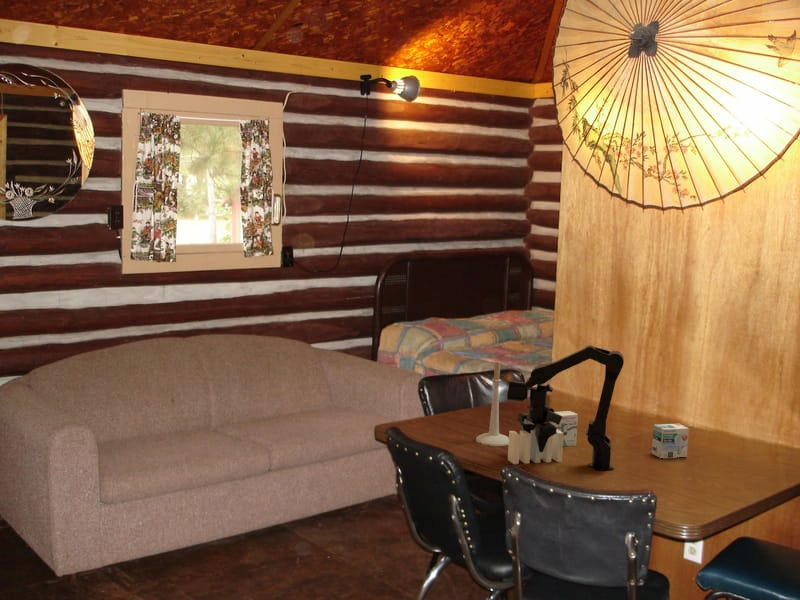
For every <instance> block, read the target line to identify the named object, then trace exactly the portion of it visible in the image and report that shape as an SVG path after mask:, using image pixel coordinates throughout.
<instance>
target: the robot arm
mask: <svg viewBox="0 0 800 600" xmlns="http://www.w3.org/2000/svg"><path fill="white" fill-rule="evenodd" d="M588 360H592V361H595V362H597V363H600V364H601V365H603V366H605V369H604V370H605V372H604V380H603V385H602V389H601V392H600V396H599V401H598V406H597V410H596V414H595V416H594V419H593V420H592V419H588V427H587V428H586V433H585V435H586V437H587V442H588V443H589V444H590V446H592V457H591V463H587V465H588V466H589V467H590V468H592V469H594V470H596V471H611V470H612V471H613V470H614V469H615V468H614V467H613V466H612V465H611V454H612V451H611V449H612V441H611V439H610V438H609V437H608V436H607V435H606V433H607V418H608V414H609V411H610V407H611V402H612V397H613V395H614V390H615V386H616V382H617V380H618V378H619V375H620V374H621V371H622V369H623V368H624V363H625V362H624V361H625V360H624V355H623V353H622V352H620V351H618V350H611V351H610V350H608V349H603V348H599V347H597V346H593V345H592V344H591V345H586V346H585V347H583V348H582V349H579V350H578V351H575V352H573V353H571V354H569V355H566V356H564V357H562V358H559V359H558V360H555V361H552V362H546V363H543V364H539V365H536V366H535V367H533V368H532V370H531V372H530V375H529V376H530V377H529V378H528V379H526V381H515V380H509V382H508V384H509V385H508V391H507V395H506V396H507V397H506V398H507V400H506V401H507V402H508V401H510V402H511V401H512V402H520V403H521V402H522V403H525V401H526V400H528V399H529V404H527V405H526V408H527V409H528V412H520V413H519V414H518V415H517V422H519V425H520V427H521V431H527V432H528V433H530V434H531V430H536V433H535V436H536V440H537V444H538V448H539V452H543V450H544V448H545V445H546V443H547V440H548V438H549V437H551V436H553V435H554V434H556V432H557V428H556V427H555V426H554V425H552V424H551V422H554V423H556V424H557V425H559V424H560V421H561V419H562V416H561V415H559V414H557V413H555V412H556V411H555V409H554V408H553V407H550V406H547V401H548V393H553V391H554V388H553V387H552V385H550V383H549V381H550V380H552V379H553V378H554V377H555V376H557V375H558V374H559V373H561V372H564V371H566V370H568V369H571V368H573V367H575V366H577V365H579V364H581V363H583V362H586V361H588ZM547 382H548V383H547ZM545 383H547V384H546V385H544V384H545Z"/></svg>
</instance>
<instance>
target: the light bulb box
mask: <svg viewBox="0 0 800 600" xmlns="http://www.w3.org/2000/svg"><path fill="white" fill-rule="evenodd" d="M652 433H653V434H652V445H651V447H652V448H651V454H652V455H653V456H656V457H658V458H659V459H661V458H663V459H680V458H679V457H687V458H688V456H687V455H688V448H689V447H688V446H689V433H690V428H689V427H687V426H685V425H682V424H681V423H663V424H658V423H657V424H653V432H652ZM677 457H678V458H677Z"/></svg>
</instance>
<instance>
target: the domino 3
mask: <svg viewBox="0 0 800 600" xmlns="http://www.w3.org/2000/svg"><path fill="white" fill-rule="evenodd" d="M535 433H536V430H535V429H534V430H531V446H530V461H532V462H533V463H535V464H541V460H542V459H541V452H539V448H538V444H537V440H536V436H535Z"/></svg>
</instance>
